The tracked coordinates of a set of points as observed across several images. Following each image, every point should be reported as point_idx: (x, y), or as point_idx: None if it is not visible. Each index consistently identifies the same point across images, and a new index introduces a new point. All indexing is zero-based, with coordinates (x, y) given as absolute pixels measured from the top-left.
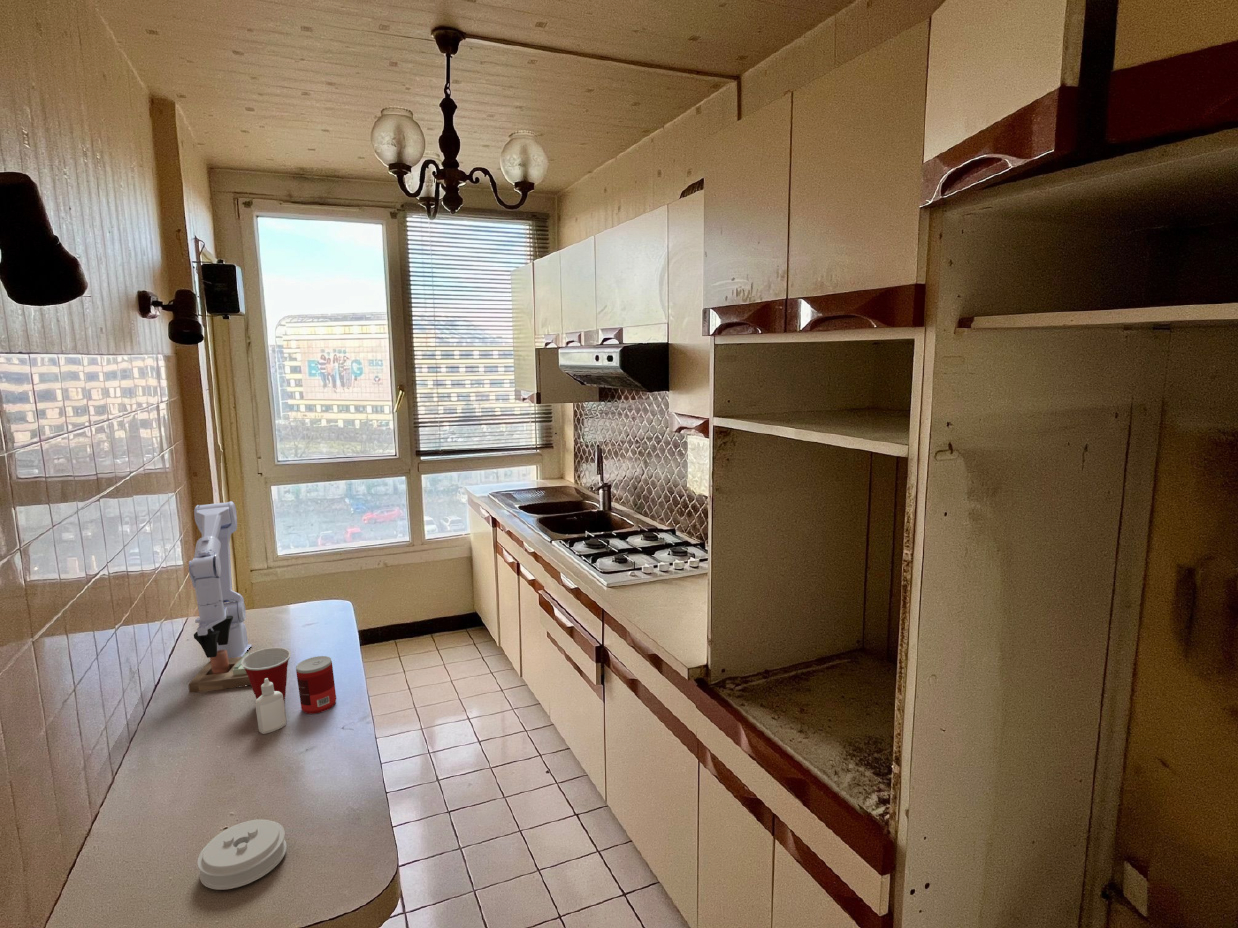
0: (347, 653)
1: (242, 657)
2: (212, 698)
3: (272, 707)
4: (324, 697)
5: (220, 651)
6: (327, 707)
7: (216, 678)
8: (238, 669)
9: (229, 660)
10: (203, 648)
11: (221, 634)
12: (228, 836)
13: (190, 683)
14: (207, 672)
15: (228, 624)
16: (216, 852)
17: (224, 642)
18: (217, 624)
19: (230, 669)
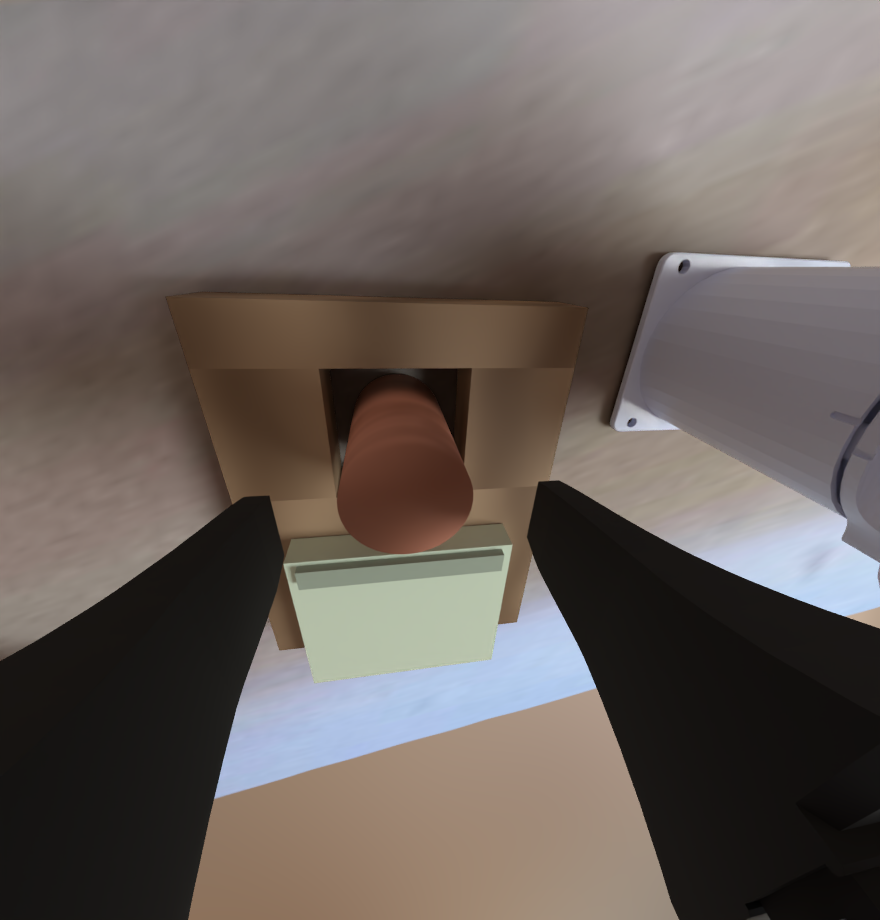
0: (479, 716)
1: (439, 561)
2: (136, 462)
3: None
4: None
5: (444, 504)
6: None
7: (258, 465)
8: (289, 585)
9: (521, 440)
10: (144, 580)
11: (590, 591)
12: None
13: (176, 310)
14: (368, 368)
15: (636, 785)
16: None
17: (538, 538)
18: (714, 737)
19: (457, 444)
